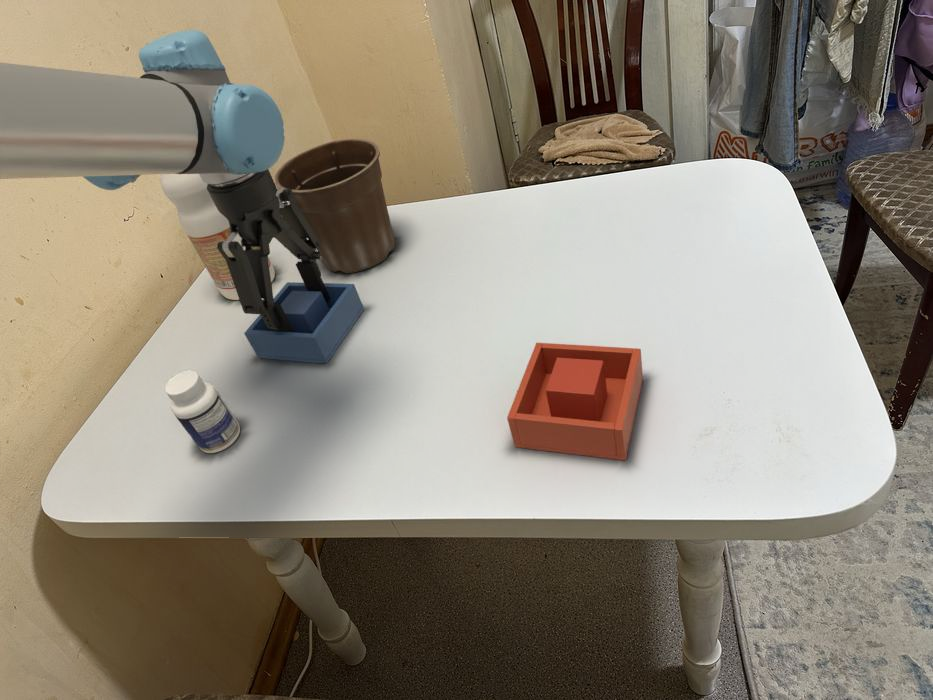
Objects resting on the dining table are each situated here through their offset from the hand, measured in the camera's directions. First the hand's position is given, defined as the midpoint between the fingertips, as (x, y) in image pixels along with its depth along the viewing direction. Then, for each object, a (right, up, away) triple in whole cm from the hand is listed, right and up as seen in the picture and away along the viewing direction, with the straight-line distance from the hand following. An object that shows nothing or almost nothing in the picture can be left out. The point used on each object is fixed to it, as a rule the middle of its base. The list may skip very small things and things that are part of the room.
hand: (305, 320), depth 93 cm
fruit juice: (-13, +7, +16) cm, 22 cm away
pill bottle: (-8, -15, -11) cm, 20 cm away
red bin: (+35, -11, -21) cm, 42 cm away
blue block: (0, -1, +1) cm, 2 cm away
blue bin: (+1, -2, +2) cm, 2 cm away
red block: (+35, -10, -22) cm, 42 cm away
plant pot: (+5, +12, +16) cm, 20 cm away
